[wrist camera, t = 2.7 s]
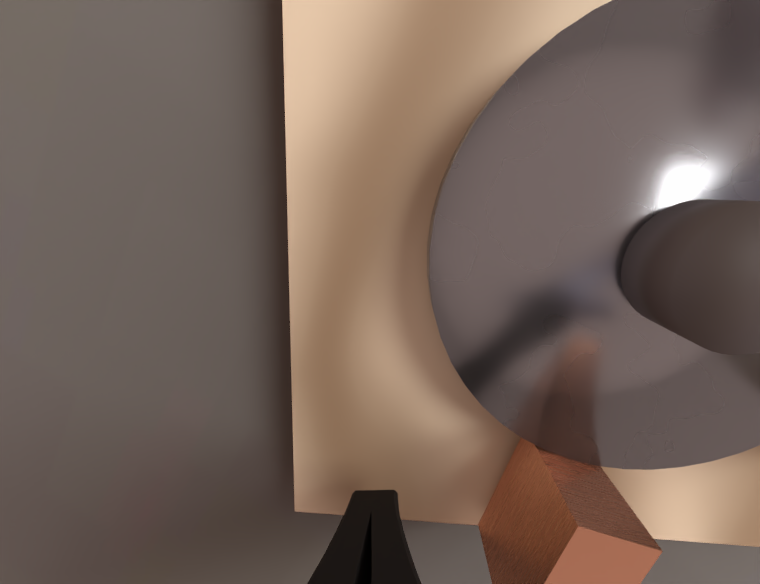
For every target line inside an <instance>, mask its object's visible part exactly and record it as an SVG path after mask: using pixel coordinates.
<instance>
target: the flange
mask: <svg viewBox="0 0 760 584" xmlns="http://www.w3.org/2000/svg"><path fill="white" fill-rule="evenodd" d="M696 199H713V200H744V201H760V0H612V1H610V2H608V3H606V4H604V5H602V6H600V7H598V8H596V9H594V10H592V11H591V12H589V13H588V14H586V15H585V16H583V17H582V18H580V19H579V20H577V21H576V22H574V23H573V24H571V25H570V26H568V27H566V28H565V29H563V30H562V31H560V32H559V33H558V34H557V35H555V36H554V37H553V38H552V39H551V40H549V41H548V42H547V43H546V44H545V45H543V46H542V47H541V48H540V49H539V50H537V51H536V52H535V53H534V54H533V55H532V56H530V57H529V58H528V59H527V60H526V61H525V62H524V63H523V64H522V65H521V66H520V67H519V68H518V69H517V70H516V71H515V72H514V73H513V74H512V75H511V76H510V77H509V78H508V79H507V81H506V82H505V83H504V84H503V85H502V86H501V87H500V88H499V89H498V90H497V91H496V92H495V93H494V94H493V95H492V97H491V98H490V99H489V100H488V101H487V103H486V104H485V105H484V107H483V108H482V109H481V111H480V112H479V113H478V115H477V116H476V117H475V119H474V120H473V122H472V123H471V124H470V126H469V127H468V129H467V130H466V132H465V134H464V136H463V137H462V139H461V141H460V143H459V144H458V146H457V148H456V150H455V152H454V153H453V155H452V157H451V159H450V162H449V164H448V167H447V169H446V171H445V174H444V176H443V179H442V181H441V183H440V186H439V189H438V193H437V197H436V200H435V204H434V207H433V211H432V215H431V221H430V228H429V235H428V242H427V278H428V286H429V294H430V301H431V304H432V308H433V312H434V315H435V319H436V323H437V327H438V330H439V334H440V337H441V340H442V342H443V344H444V347H445V349H446V351H447V354H448V356H449V358H450V361H451V363H452V365H453V366H454V368H455V370H456V371H457V373H458V374H459V376H460V378H461V379H462V381H463V383H464V384H465V386H466V387H467V388H468V389H469V391H470V392H471V393H472V394H473V396H474V397H475V398H476V399H477V400H478V402H479V403H480V404H481V405H482V406H483V407H484V408H485V409H486V410H487V411H488V412H489V413H490V414H491V415H492V416H494V417H495V418H496V419H497V420H498V421H499V422H500V423H501V424H503V425H504V426H506V427H507V428H508V429H510V430H511V431H513V432H514V433H516V434H517V435H518V436H520V437H521V438H520V440H519V442H518V444H517V446H516V448H515V450H514V452H513V454H512V456H511V459H510V461H509V463H508V465H507V467H506V469H505V471H504V473H503V475H502V477H501V479H500V481H499V483H498V485H497V487H496V489H495V491H494V493H493V495H492V497H491V499H490V501H489V503H488V505H487V507H486V509H485V511H484V513H483V515H482V517H481V519H480V521H479V523H478V525H479V530H480V534H481V538H482V542H483V547H484V551H485V555H486V559H487V563H488V568H489V572H490V576H491V580H492V584H640V583H641V582H642V580H643V579H644V577H645V576H646V575H647V573H648V572H649V570H650V569H651V567H652V566H653V564H654V563H655V562H656V560H657V559H658V557H659V556H660V554H661V553H662V550H661V549H660V547H659V546H658V544H657V543H656V542H655V540H654V539H653V538H652V536H651V535H650V533H649V532H648V531H647V529H646V528H645V527H644V525H643V524H642V522H641V521H640V520H639V518H638V517H637V516H636V514H635V513H634V512H633V510H632V509H631V507H630V506H629V505H628V503H627V502H626V501H625V499H624V498H623V496H622V495H621V494H620V492H619V491H618V490H617V488H616V487H615V485H614V484H613V483H612V481H611V480H610V479H609V477H608V476H607V474H606V473H605V472H604V470H603V469H602V468H601V466H602V467H610V468H618V469H640V470H655V469H666V468H678V467H685V466H690V465H696V464H701V463H706V462H711V461H715V460H718V459H722V458H725V457H728V456H732V455H735V454H739V453H742V452H744V451H747V450H749V449H752V448H754V447H757V446H759V445H760V352H758V353H754V354H746V355H727V354H720V353H716V352H712V351H710V350H707V349H705V348H702V347H701V346H699V345H697V344H695V343H693V342H691V341H689V340H687V339H685V338H683V337H681V336H679V335H678V334H676V333H674V332H672V331H670V330H668V329H666V328H664V327H662V326H660V325H658V324H656V323H654V322H653V321H651V320H649V319H647V318H645V317H643V316H642V315H641V314H639V313H638V312H637V311H636V310H635V309H634V308H633V307H632V306H631V304H630V303H629V301H628V300H627V298H626V296H625V294H624V291H623V287H622V281H621V268H622V262H623V258H624V255H625V252H626V250H627V247H628V245H629V244H630V242H631V240H632V238H633V237H634V236H635V234H636V233H637V232H638V230H639V229H640V228H641V227H642V226H643V225H644V224H645V223H646V222H647V221H648V220H649V219H651V218H652V217H653V216H655V215H656V214H657V213H659V212H660V211H662V210H664V209H666V208H668V207H670V206H673V205H675V204H678V203H681V202H685V201H689V200H696Z"/></svg>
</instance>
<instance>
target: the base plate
mask: <svg viewBox="0 0 760 584" xmlns="http://www.w3.org/2000/svg"><path fill="white" fill-rule="evenodd" d="M610 1H612V0H282V11H283V52H284V93H285V133H286V174H287V215H288V256H289V297H290V338H291V379H292V420H293V461H294V502H295V512H308V513H322V514H335V515H344V513H345V511H346V509H347V506H348V504H349V501H350V498H351V496H352V493H353V492H354V491H357V490H395V491H396V492H397V493H398V504H399V513H400V518H401V520H414V521H427V522H440V523H453V524H467V525H478V523H479V521H480V519H481V517H482V515H483V513H484V511H485V509H486V507H487V505H488V503H489V501H490V499H491V497H492V495H493V493H494V491H495V489H496V487H497V485H498V483H499V481H500V479H501V477H502V475H503V473H504V471H505V469H506V467H507V465H508V463H509V461H510V459H511V456H512V454H513V452H514V450H515V448H516V446H517V444H518V442H519V440H520V438H521V437H520V436H518V435H517V434H516V433H514V432H513V431H511V430H510V429H508V428H507V427H506V426H504V425H503V424H501V423H500V422H499V421H498V420H497V419H496V418H495V417H494V416H492V415H491V414H490V413H489V412H488V411H487V410H486V409H485V408H484V407H483V406H482V405H481V404H480V403H479V402H478V400H477V399H476V398H475V397H474V396H473V394H472V393H471V392H470V391H469V389H468V388H467V387H466V386H465V384H464V383H463V381H462V379H461V378H460V376H459V374H458V373H457V371H456V370H455V368H454V366H453V365H452V363H451V361H450V358H449V356H448V354H447V351H446V349H445V347H444V344H443V342H442V340H441V337H440V334H439V330H438V327H437V323H436V319H435V315H434V312H433V308H432V304H431V301H430V294H429V286H428V278H427V242H428V235H429V228H430V221H431V215H432V211H433V207H434V204H435V200H436V197H437V193H438V189H439V186H440V183H441V181H442V179H443V176H444V174H445V171H446V169H447V167H448V164H449V162H450V159H451V157H452V155H453V153H454V152H455V150H456V148H457V146H458V144H459V143H460V141H461V139H462V137H463V136H464V134H465V132H466V130H467V129H468V127H469V126H470V124H471V123H472V122H473V120H474V119H475V117H476V116H477V115H478V113H479V112H480V111H481V109H482V108H483V107H484V105H485V104H486V103H487V101H488V100H489V99H490V98H491V97H492V95H493V94H494V93H495V92H496V91H497V90H498V89H499V88H500V87H501V86H502V85H503V84H504V83H505V82H506V81H507V79H508V78H509V77H510V76H511V75H512V74H513V73H514V72H515V71H516V70H517V69H518V68H519V67H520V66H521V65H522V64H523V63H524V62H525V61H526V60H527V59H528V58H529V57H530V56H532V55H533V54H534V53H535V52H536V51H537V50H539V49H540V48H541V47H542V46H543V45H545V44H546V43H547V42H548V41H549V40H551V39H552V38H553V37H554V36H555V35H557V34H558V33H559V32H560V31H562V30H563V29H565V28H566V27H568V26H570V25H571V24H573V23H574V22H576V21H577V20H579V19H580V18H582V17H583V16H585V15H586V14H588V13H589V12H591V11H592V10H594V9H596V8H598V7H600V6H602V5H604V4H606V3H608V2H610ZM621 281H622V287H623V291H624V294H625V296H626V298H627V300H628V301H629V303H630V304H631V306H632V307H633V308H634V309H635V310H636V311H637V312H638V313H639V314H641V315H642V316H643V317H645V318H647V319H649V320H651V321H653V322H654V323H656V324H658V325H660V326H662V327H664V328H666V329H668V330H670V331H672V332H674V333H676V334H678V335H679V336H681V337H683V338H685V339H687V340H689V341H691V342H693V343H695V344H697V345H699V346H701V347H702V348H705V349H707V350H710V351H712V352H716V353H720V354H727V355H746V354H754V353H758V352H760V201H744V200H713V199H696V200H689V201H685V202H681V203H678V204H675V205H673V206H670V207H668V208H666V209H664V210H662V211H660V212H659V213H657V214H656V215H655V216H653V217H652V218H651V219H649V220H648V221H647V222H646V223H645V224H644V225H643V226H642V227H641V228H640V229H639V230H638V232H637V233H636V234H635V236H634V237H633V238H632V240H631V242H630V244H629V245H628V247H627V250H626V252H625V255H624V258H623V262H622V268H621ZM601 468H602V469H603V470H604V472H605V473H606V474H607V476H608V477H609V479H610V480H611V481H612V483H613V484H614V485H615V487H616V488H617V490H618V491H619V492H620V494H621V495H622V496H623V498H624V499H625V501H626V502H627V503H628V505H629V506H630V507H631V509H632V510H633V512H634V513H635V514H636V516H637V517H638V518H639V520H640V521H641V522H642V524H643V525H644V527H645V528H646V529H647V531H648V532H649V533H650V535H651V536H652V538H653V539H664V540H677V541H691V542H704V543H717V544H730V545H743V546H756V547H760V445H759V446H757V447H754V448H752V449H749V450H747V451H744V452H742V453H739V454H735V455H732V456H728V457H725V458H722V459H718V460H715V461H711V462H706V463H701V464H696V465H690V466H685V467H678V468H666V469H655V470H640V469H618V468H610V467H602V466H601Z"/></svg>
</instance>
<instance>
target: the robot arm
mask: <svg viewBox="0 0 760 584" xmlns="http://www.w3.org/2000/svg"><path fill="white" fill-rule="evenodd" d="M307 584H421V582H420V579H419V577H418V574H417V571H416V569H415V566H414V563H413V560H412V557H411V554H410V551H409V548H408V544H407V541H406V538H405V534H404V531H403V527H402V522H401V518H400V513H399V504H398V493H397V492H396V491H395V490H357V491H354V492H353V493H352V496H351V498H350V501H349V504H348V506H347V509H346V511H345V513H344V516H343V518H342V520H341V522H340V524H339V526H338V528H337V531H336V533H335V534H334V536H333V538H332V540H331V542H330V544H329V546H328V548H327V550H326V552H325V554H324V556H323V558H322V559H321V561H320V563H319V564H318V566H317V568H316V570H315V571H314V573H313V575H312V577H311V578H310V580H309V582H308V583H307Z"/></svg>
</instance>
